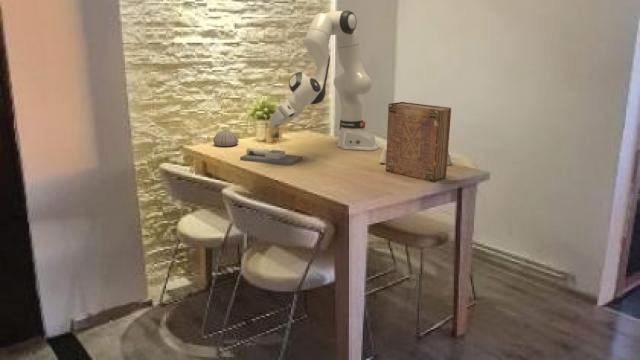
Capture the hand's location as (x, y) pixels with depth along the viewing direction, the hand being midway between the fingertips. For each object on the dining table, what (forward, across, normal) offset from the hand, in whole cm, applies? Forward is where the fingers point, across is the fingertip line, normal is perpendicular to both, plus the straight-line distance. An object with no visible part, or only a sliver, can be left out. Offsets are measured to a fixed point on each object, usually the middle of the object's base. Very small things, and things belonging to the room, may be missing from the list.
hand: (273, 127), depth 257 cm
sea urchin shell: (+38, -20, -16) cm, 46 cm away
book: (-37, -1, +59) cm, 70 cm away
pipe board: (+12, 0, +10) cm, 16 cm away
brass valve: (+3, 0, +4) cm, 5 cm away
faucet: (-26, -21, +49) cm, 59 cm away
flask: (-42, -26, +65) cm, 82 cm away
